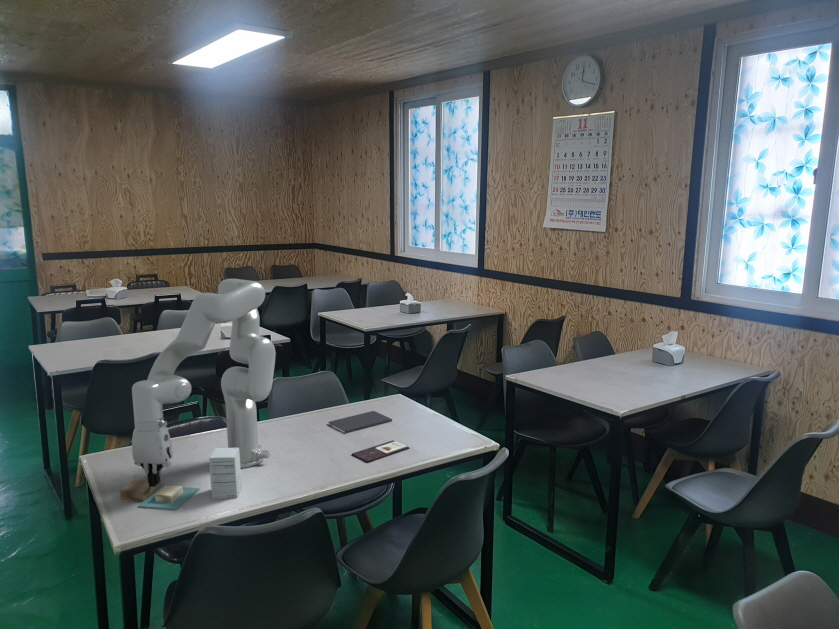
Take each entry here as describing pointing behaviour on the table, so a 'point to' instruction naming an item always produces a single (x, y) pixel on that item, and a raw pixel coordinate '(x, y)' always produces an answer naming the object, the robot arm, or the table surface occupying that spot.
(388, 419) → the notebook
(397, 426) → the table surface
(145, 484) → the walnut block
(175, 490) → the birch block
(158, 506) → the rubber mat
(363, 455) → the chocolate bar
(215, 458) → the supplement box
